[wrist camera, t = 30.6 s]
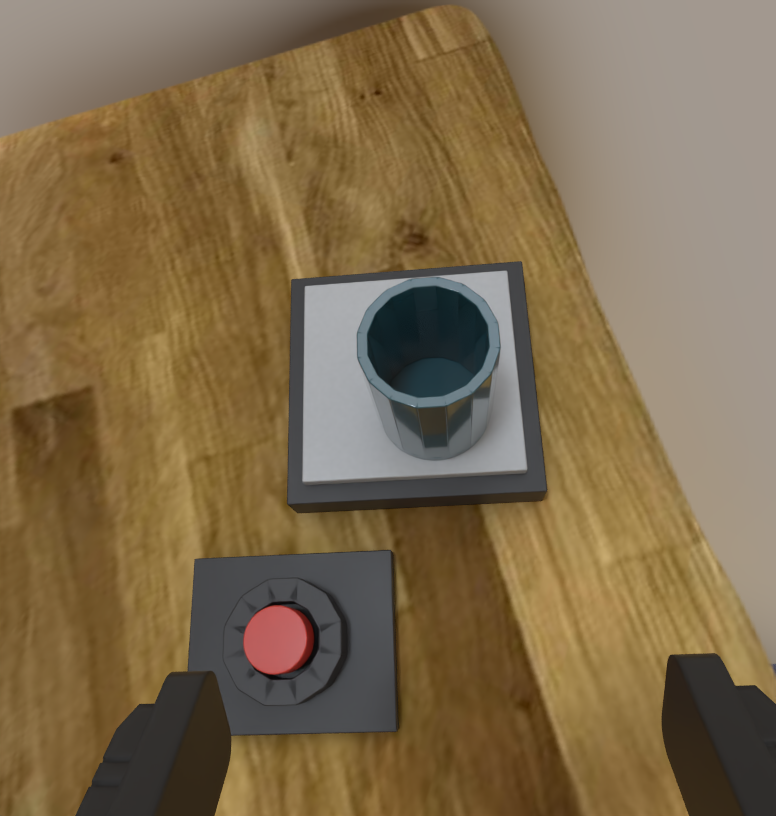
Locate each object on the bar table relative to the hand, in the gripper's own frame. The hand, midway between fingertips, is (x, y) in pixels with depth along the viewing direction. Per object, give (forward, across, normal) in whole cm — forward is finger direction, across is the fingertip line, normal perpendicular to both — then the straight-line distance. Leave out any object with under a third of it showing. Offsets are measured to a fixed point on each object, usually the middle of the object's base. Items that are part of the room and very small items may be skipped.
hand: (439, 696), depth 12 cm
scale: (+29, -2, -7) cm, 30 cm away
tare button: (+17, -9, -15) cm, 25 cm away
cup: (+25, 0, -6) cm, 26 cm away
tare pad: (+19, -8, -17) cm, 27 cm away
